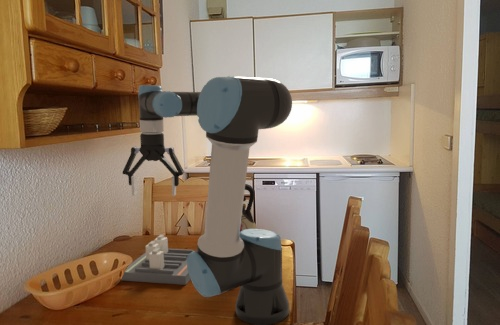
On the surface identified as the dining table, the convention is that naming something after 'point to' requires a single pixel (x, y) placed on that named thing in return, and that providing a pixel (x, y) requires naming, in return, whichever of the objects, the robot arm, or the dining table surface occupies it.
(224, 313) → the dining table surface
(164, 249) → the far breaker handle
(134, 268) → the tray
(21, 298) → the dining table surface
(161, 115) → the robot arm
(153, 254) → the block
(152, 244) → the handle
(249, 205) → the ceramic jug
